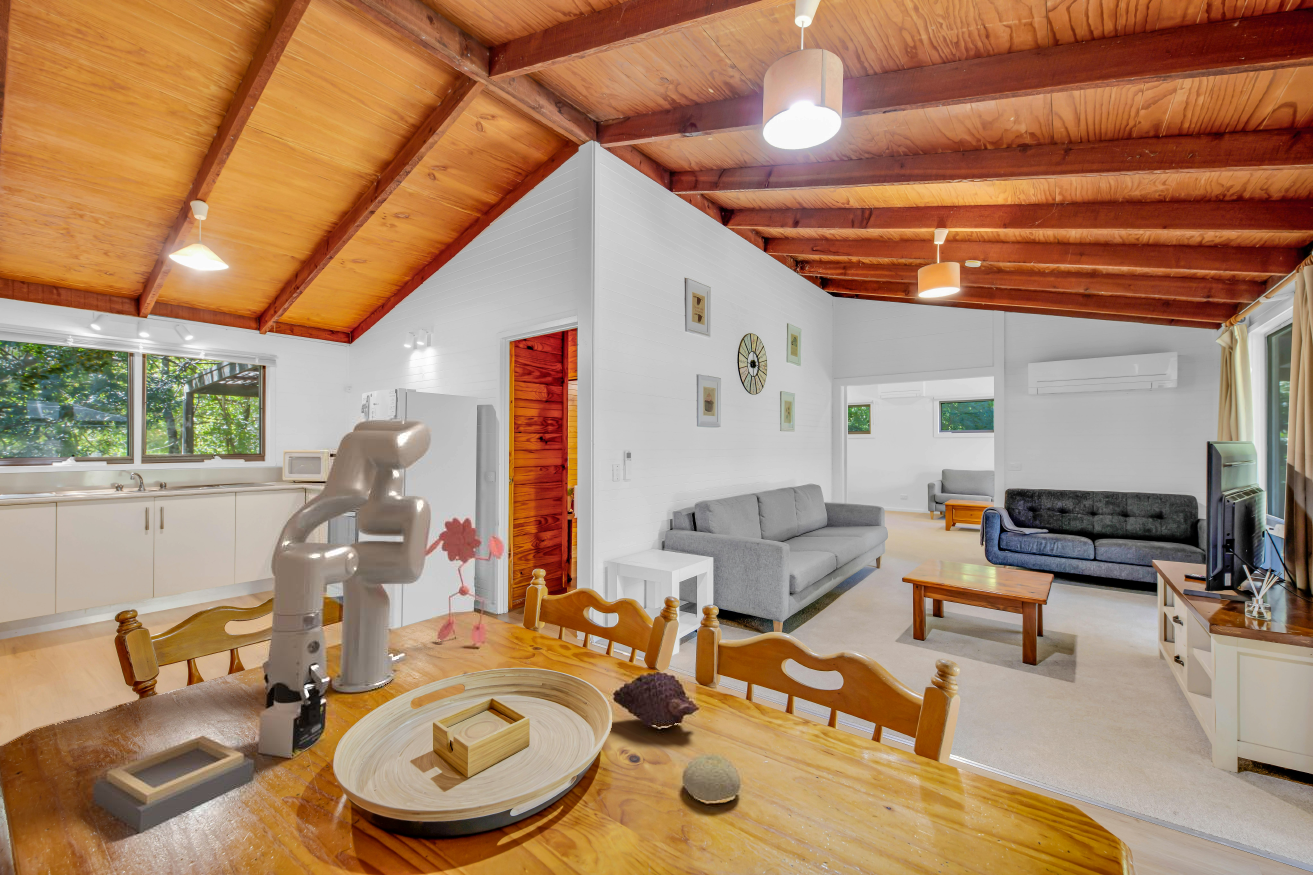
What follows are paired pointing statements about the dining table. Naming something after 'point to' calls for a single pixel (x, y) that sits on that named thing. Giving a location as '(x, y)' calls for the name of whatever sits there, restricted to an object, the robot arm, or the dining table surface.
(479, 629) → the flower headed figure
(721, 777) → the sea urchin shell
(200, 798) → the pedestal
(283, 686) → the medicine bottle
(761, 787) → the dining table surface
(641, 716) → the purple conch shell
